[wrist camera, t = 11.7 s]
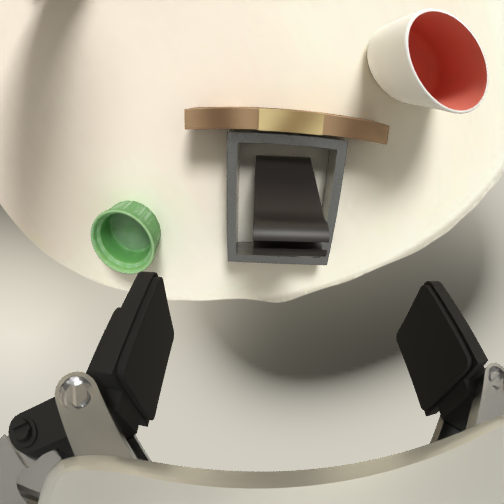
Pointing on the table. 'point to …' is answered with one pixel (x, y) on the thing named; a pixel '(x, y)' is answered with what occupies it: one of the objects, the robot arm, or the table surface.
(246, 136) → the frame
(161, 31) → the table surface
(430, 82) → the cup
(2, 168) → the table surface
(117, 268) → the ramekin
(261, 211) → the phone stand
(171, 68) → the table surface
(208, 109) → the door edge rail
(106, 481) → the robot arm
